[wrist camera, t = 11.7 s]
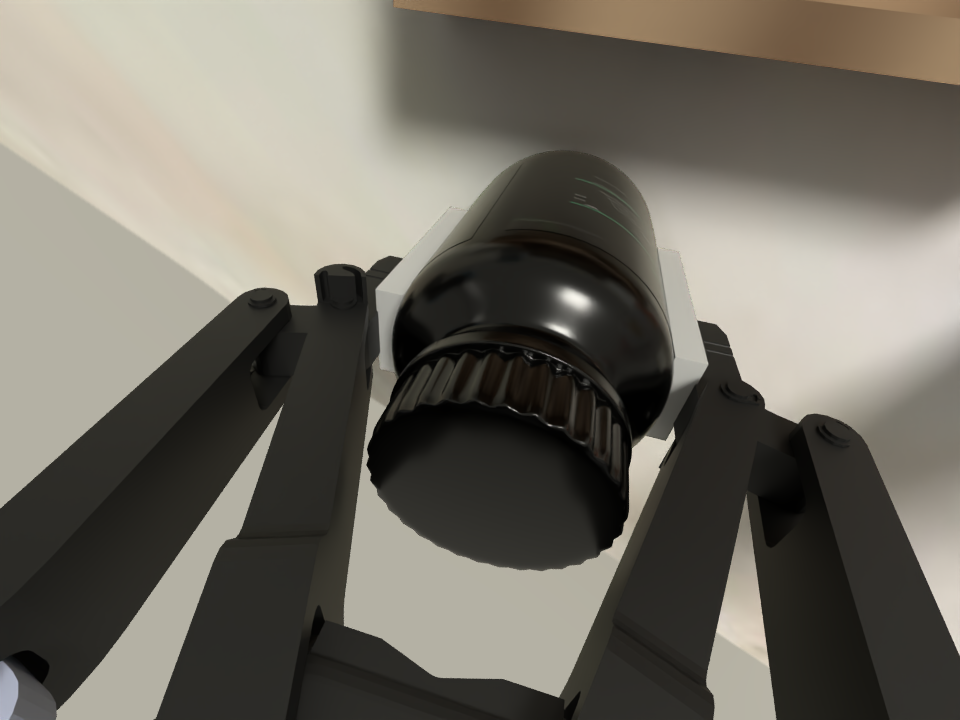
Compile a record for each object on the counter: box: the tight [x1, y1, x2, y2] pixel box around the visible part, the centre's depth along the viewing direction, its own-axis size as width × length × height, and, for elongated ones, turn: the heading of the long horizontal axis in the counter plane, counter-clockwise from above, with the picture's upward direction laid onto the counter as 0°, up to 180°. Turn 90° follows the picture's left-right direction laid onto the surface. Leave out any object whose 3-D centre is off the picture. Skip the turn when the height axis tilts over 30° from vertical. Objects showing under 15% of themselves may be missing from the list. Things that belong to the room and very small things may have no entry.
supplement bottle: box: [367, 151, 674, 571], centre depth 12 cm, size 7×7×12 cm
